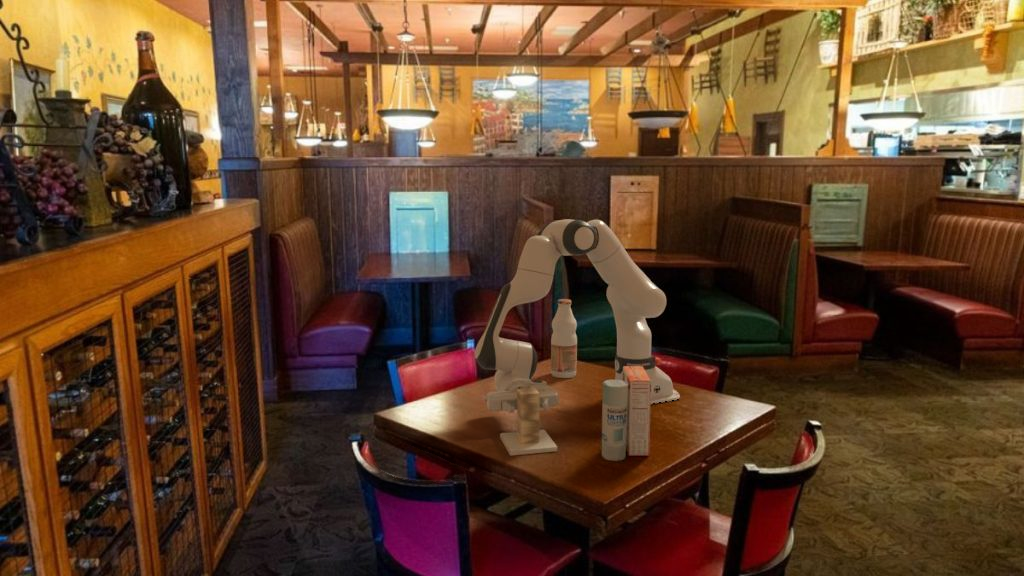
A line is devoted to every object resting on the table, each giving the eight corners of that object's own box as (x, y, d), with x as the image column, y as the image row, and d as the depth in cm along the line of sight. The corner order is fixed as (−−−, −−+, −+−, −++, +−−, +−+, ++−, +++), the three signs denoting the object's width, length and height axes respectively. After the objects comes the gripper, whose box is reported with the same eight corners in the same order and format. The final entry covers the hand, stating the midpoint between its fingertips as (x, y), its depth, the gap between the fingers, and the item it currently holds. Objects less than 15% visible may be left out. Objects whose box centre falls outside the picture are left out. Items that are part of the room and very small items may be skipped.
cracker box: (620, 436, 200) (622, 365, 196) (641, 436, 200) (643, 365, 196) (626, 456, 186) (628, 380, 182) (649, 456, 186) (652, 380, 182)
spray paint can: (605, 461, 183) (606, 387, 179) (598, 452, 189) (599, 380, 186) (629, 460, 184) (631, 386, 180) (621, 450, 190) (623, 378, 187)
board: (544, 433, 202) (544, 429, 202) (557, 451, 189) (557, 446, 189) (499, 437, 199) (499, 433, 199) (510, 455, 187) (510, 451, 186)
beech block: (534, 435, 197) (534, 387, 195) (539, 442, 192) (539, 393, 190) (517, 437, 196) (517, 388, 194) (521, 444, 191) (521, 394, 189)
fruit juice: (546, 376, 257) (547, 301, 253) (557, 370, 266) (558, 297, 261) (570, 380, 253) (571, 303, 248) (580, 373, 261) (581, 299, 256)
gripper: (481, 385, 202) (491, 400, 189) (550, 380, 207) (564, 394, 193) (481, 406, 203) (491, 423, 190) (550, 401, 208) (564, 416, 194)
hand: (528, 408), depth 192 cm, fingers open, 8 cm apart
